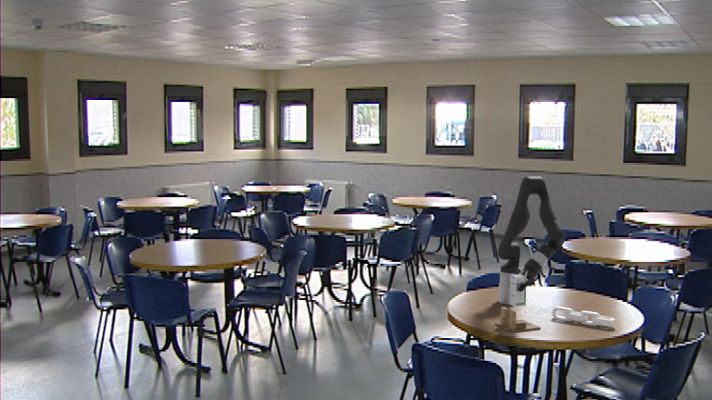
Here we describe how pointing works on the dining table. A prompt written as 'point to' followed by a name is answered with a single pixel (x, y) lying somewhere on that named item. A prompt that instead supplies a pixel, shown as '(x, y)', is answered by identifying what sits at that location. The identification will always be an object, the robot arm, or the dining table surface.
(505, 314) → the dock
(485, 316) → the dining table surface
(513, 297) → the syrup box
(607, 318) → the chain
